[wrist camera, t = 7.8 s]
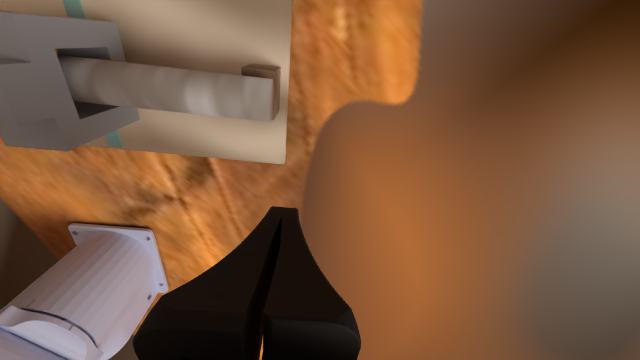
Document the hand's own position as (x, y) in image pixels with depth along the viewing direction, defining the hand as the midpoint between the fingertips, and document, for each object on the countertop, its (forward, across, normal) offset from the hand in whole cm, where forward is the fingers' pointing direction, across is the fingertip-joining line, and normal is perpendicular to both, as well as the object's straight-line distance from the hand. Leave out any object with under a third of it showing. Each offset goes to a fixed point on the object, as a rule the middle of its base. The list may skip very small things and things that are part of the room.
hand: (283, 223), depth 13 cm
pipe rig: (+10, +10, -5) cm, 15 cm away
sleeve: (+8, +13, -5) cm, 16 cm away
